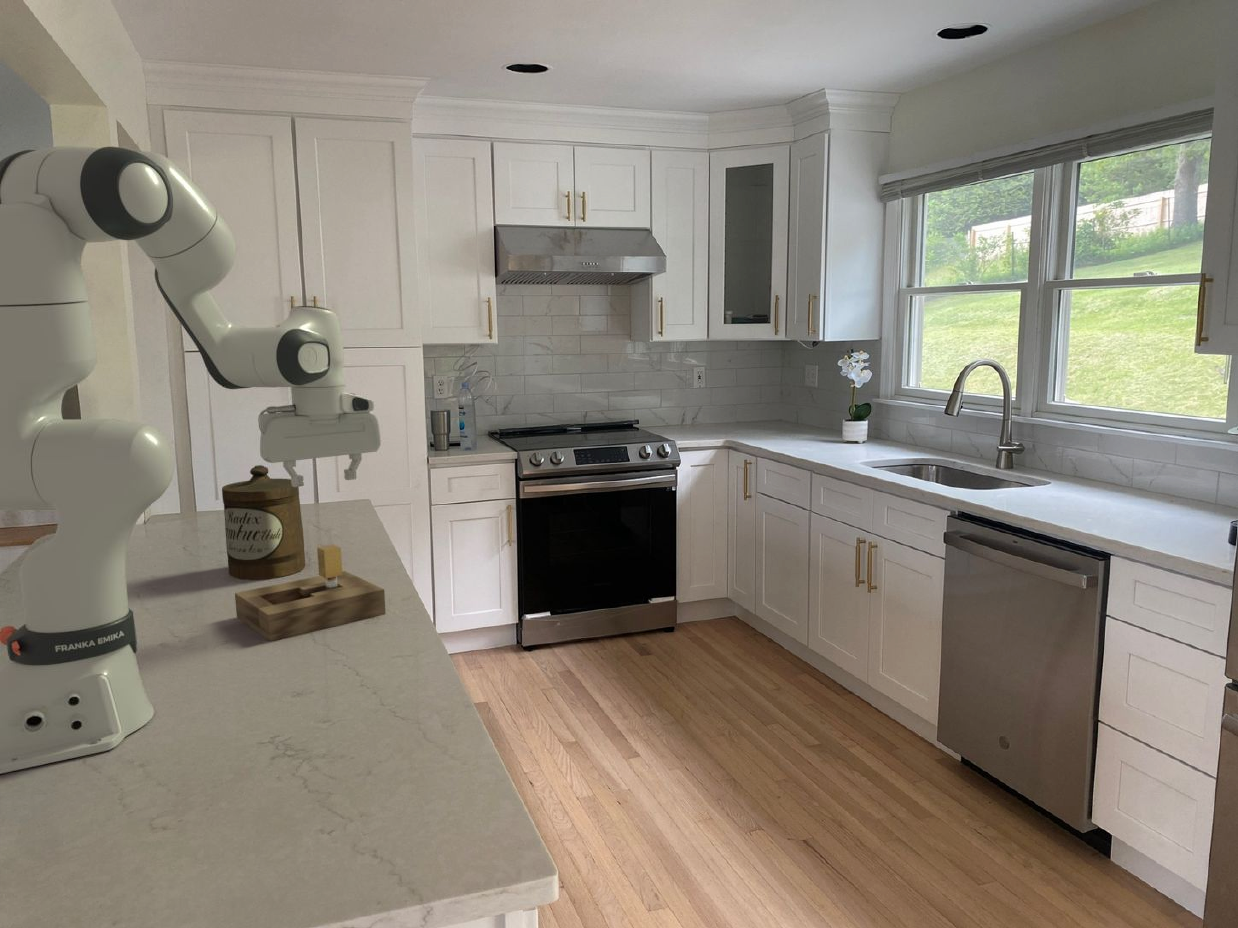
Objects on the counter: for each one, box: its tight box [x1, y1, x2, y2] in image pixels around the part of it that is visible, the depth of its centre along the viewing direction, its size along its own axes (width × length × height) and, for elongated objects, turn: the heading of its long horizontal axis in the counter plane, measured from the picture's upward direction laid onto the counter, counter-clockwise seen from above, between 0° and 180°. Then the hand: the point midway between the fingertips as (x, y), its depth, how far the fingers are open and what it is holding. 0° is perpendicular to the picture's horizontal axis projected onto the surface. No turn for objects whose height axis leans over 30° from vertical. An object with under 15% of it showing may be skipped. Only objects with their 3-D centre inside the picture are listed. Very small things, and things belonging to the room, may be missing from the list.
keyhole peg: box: [316, 543, 343, 590], centre depth 155 cm, size 5×5×10 cm
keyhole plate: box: [234, 570, 387, 642], centre depth 153 cm, size 20×16×4 cm
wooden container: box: [221, 464, 306, 581], centre depth 181 cm, size 15×15×22 cm
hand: (324, 482), depth 152 cm, fingers open, 8 cm apart
